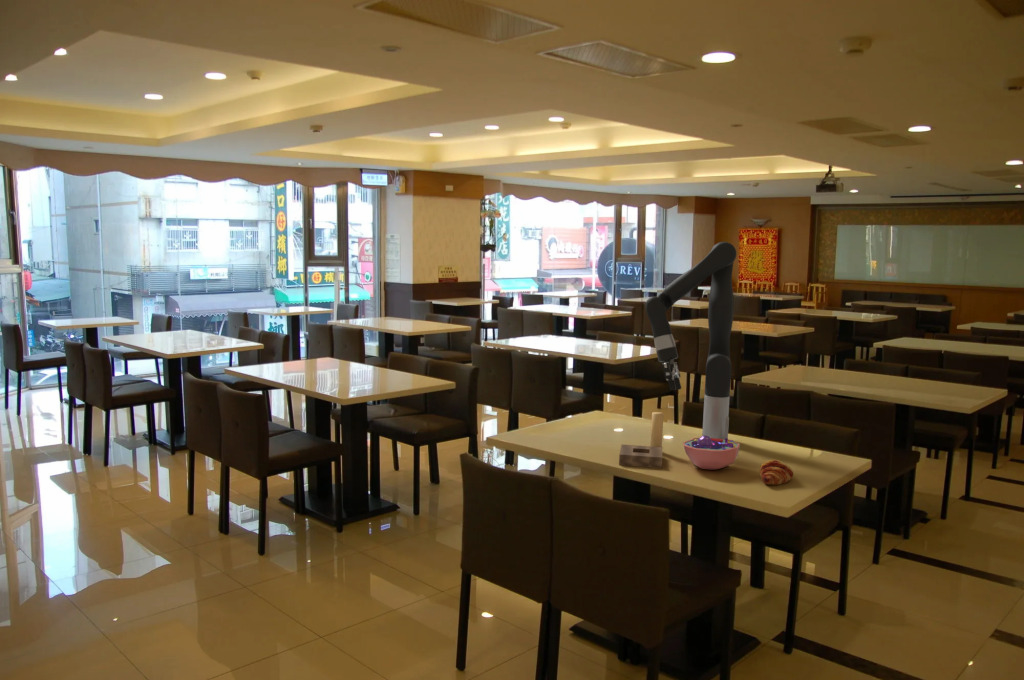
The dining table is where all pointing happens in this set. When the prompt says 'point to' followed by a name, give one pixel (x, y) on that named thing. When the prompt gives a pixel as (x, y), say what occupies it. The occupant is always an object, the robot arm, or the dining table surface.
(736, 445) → the cell model
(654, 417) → the peg
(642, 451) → the hole block
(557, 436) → the dining table surface
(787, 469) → the croissant
